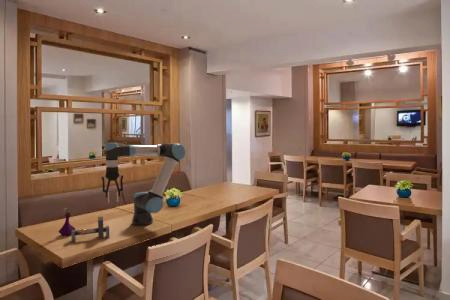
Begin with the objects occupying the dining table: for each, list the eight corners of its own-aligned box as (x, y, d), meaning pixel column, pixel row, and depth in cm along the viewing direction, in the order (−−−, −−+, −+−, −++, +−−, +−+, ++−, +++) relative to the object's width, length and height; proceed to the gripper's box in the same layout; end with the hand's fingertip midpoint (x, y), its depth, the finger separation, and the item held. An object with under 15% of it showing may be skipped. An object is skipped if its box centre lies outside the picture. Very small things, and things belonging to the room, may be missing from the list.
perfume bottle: (65, 232, 212) (64, 206, 211) (75, 233, 212) (74, 206, 210) (58, 236, 205) (57, 209, 204) (69, 236, 204) (68, 209, 203)
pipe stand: (109, 235, 206) (108, 225, 206) (109, 237, 202) (109, 227, 201) (72, 239, 198) (71, 229, 198) (71, 242, 193) (71, 231, 193)
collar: (103, 233, 207) (102, 216, 206) (103, 238, 198) (103, 220, 198) (98, 234, 206) (98, 216, 205) (98, 238, 197) (97, 220, 197)
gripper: (126, 165, 209) (127, 199, 211) (97, 166, 202) (98, 201, 204) (127, 166, 202) (128, 201, 204) (97, 167, 195) (98, 204, 197)
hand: (113, 201), depth 204 cm, fingers open, 5 cm apart
